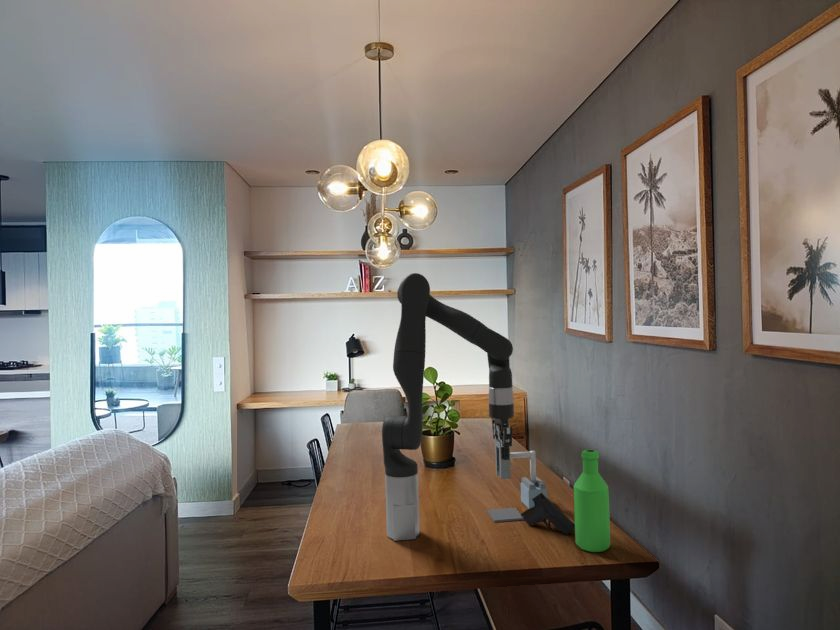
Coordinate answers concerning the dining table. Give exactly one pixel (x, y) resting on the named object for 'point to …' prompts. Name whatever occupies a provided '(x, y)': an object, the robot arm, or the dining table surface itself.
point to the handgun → (547, 515)
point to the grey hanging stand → (534, 484)
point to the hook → (502, 462)
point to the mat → (504, 515)
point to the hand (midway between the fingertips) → (502, 456)
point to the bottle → (591, 506)
